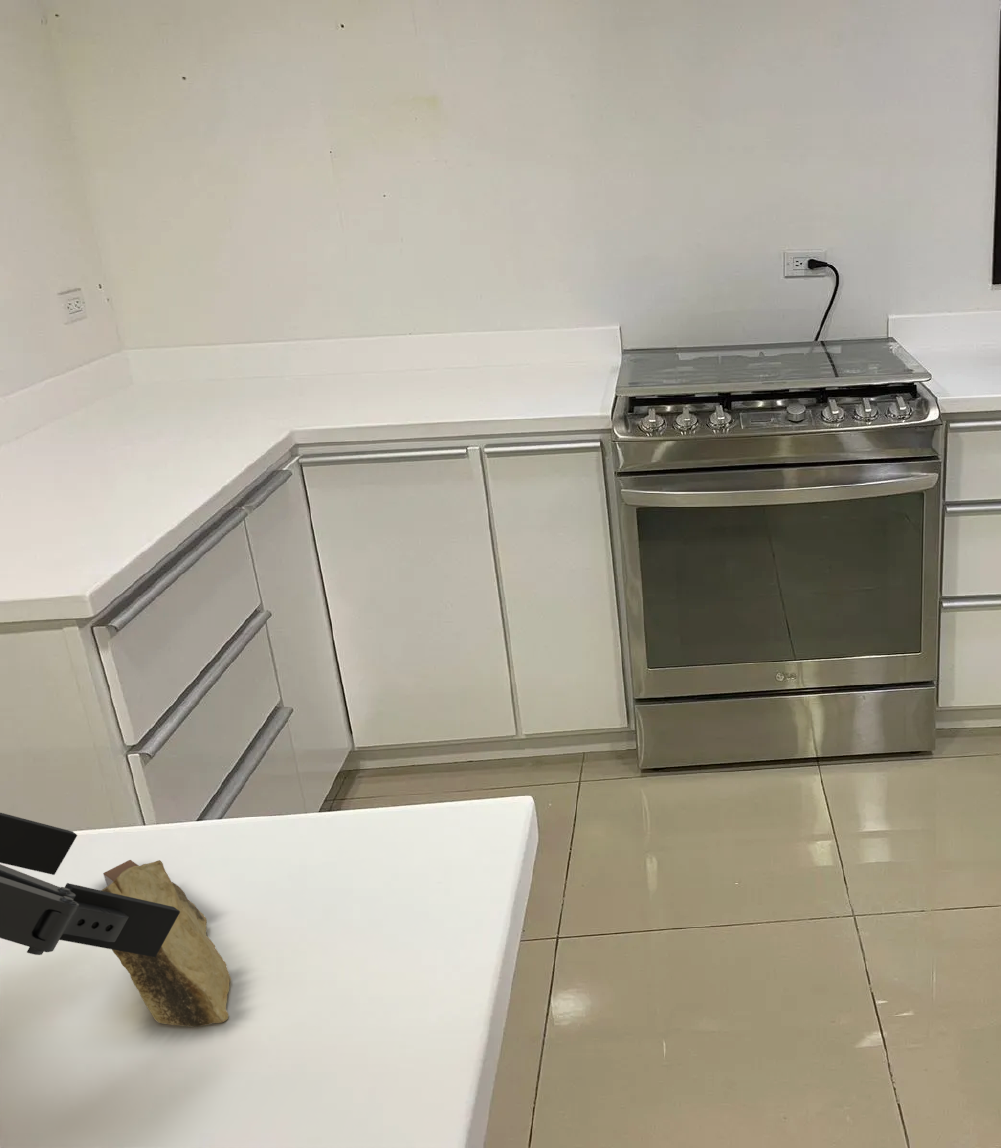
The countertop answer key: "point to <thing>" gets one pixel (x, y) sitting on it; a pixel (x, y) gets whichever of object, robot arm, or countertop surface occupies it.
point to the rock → (175, 955)
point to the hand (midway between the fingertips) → (112, 890)
